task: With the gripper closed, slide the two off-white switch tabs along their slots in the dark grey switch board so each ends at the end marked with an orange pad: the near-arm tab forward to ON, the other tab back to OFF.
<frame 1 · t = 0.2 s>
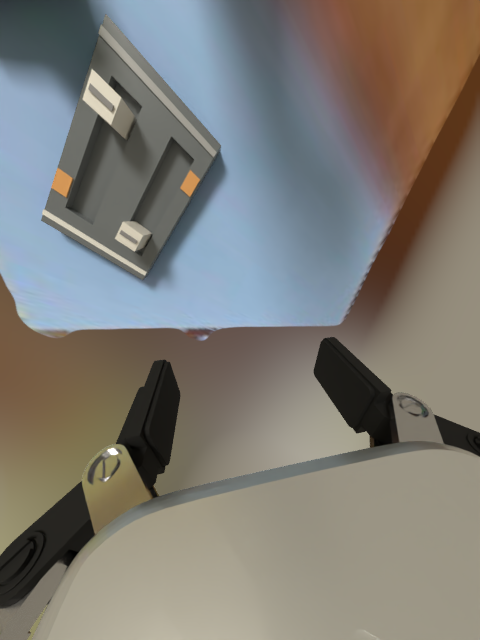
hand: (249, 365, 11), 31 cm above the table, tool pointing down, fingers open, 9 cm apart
tab B: (134, 235, 29), point 4 cm above the table, slide at 12.0 cm
tab A: (112, 110, 22), point 4 cm above the table, slide at 0.0 cm
switch board: (135, 186, 29), on the table
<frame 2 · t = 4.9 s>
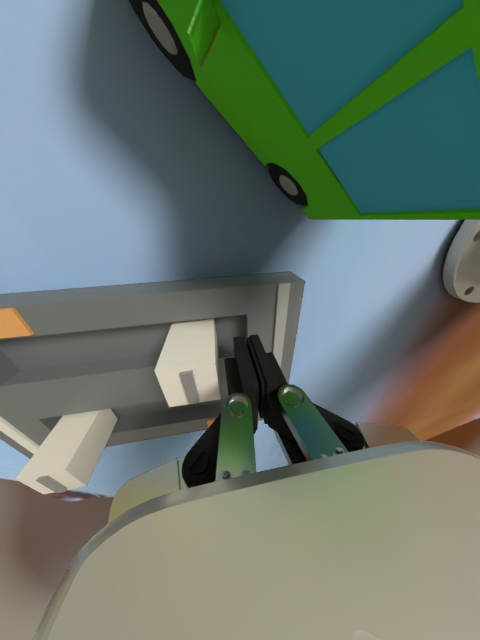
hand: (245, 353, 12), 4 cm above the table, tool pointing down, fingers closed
tab B: (76, 443, 14), point 4 cm above the table, slide at 12.0 cm
tab A: (194, 355, 12), point 4 cm above the table, slide at 0.9 cm, touching gripper
switch board: (151, 365, 16), on the table
toy car: (274, 42, 8), on the table
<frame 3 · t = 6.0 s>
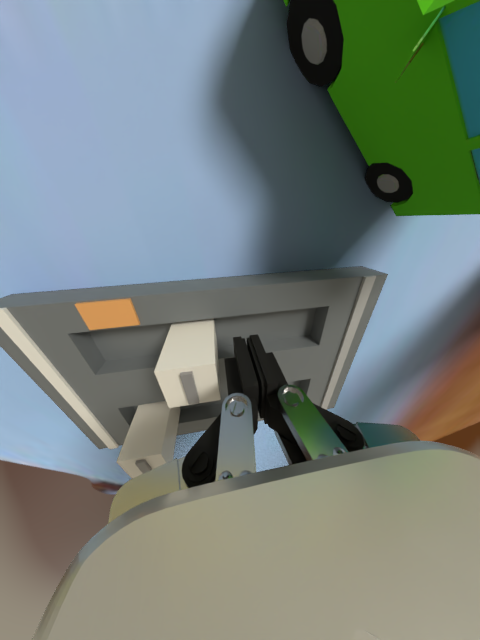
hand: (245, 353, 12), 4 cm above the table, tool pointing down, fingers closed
tab B: (154, 431, 15), point 4 cm above the table, slide at 12.0 cm
tab A: (194, 356, 12), point 4 cm above the table, slide at 7.2 cm, touching gripper
switch board: (216, 357, 17), on the table
toy car: (390, 52, 9), on the table
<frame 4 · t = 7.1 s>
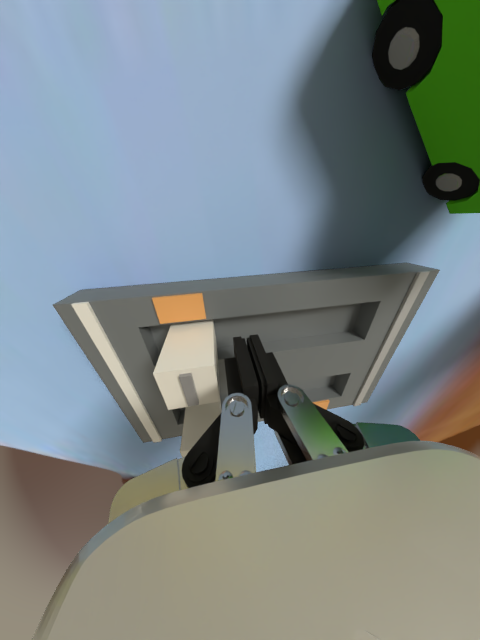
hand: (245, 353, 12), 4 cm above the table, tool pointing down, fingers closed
tab B: (204, 424, 15), point 4 cm above the table, slide at 12.0 cm
tab A: (193, 357, 11), point 4 cm above the table, slide at 11.6 cm, touching gripper
switch board: (259, 352, 18), on the table
toy car: (460, 57, 9), on the table
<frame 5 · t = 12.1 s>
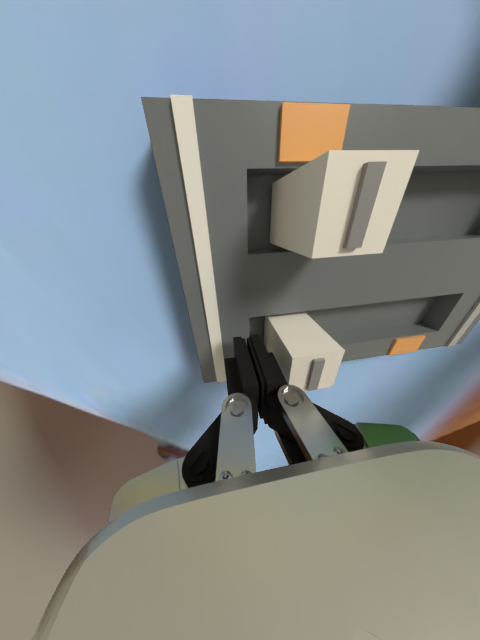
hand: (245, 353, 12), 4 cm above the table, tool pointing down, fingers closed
tab B: (295, 346, 12), point 4 cm above the table, slide at 12.0 cm, touching gripper
tab A: (319, 212, 8), point 4 cm above the table, slide at 11.9 cm
switch board: (349, 268, 14), on the table
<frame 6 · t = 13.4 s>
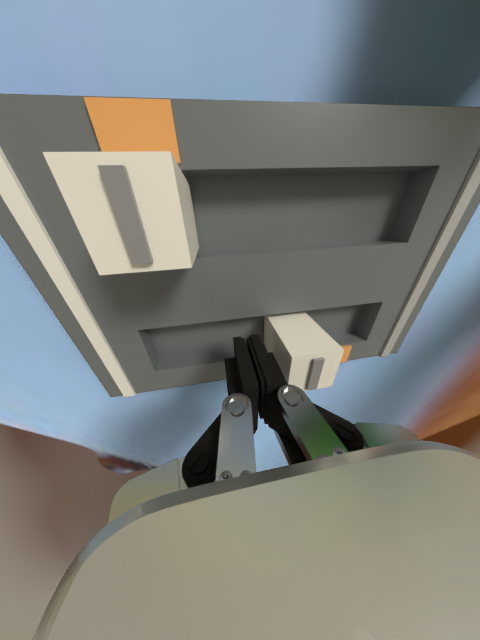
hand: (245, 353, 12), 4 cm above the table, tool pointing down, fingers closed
tab B: (295, 346, 12), point 4 cm above the table, slide at 4.6 cm, touching gripper
tab A: (153, 220, 7), point 4 cm above the table, slide at 11.9 cm
switch board: (261, 276, 13), on the table
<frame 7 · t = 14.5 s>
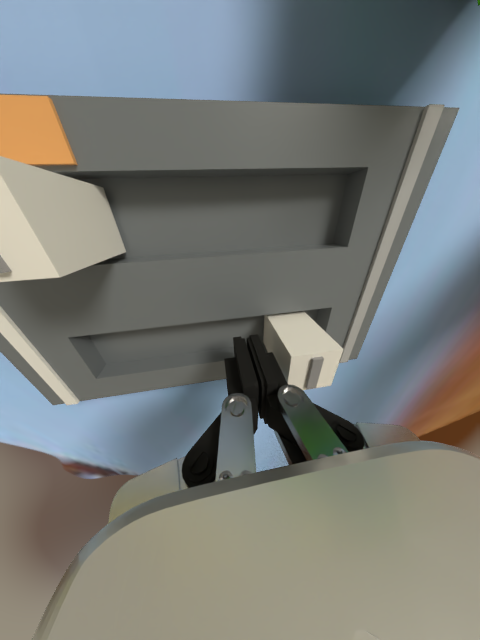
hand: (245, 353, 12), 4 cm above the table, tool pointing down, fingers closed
tab B: (294, 345, 12), point 4 cm above the table, slide at 0.4 cm, touching gripper
tab A: (43, 225, 7), point 4 cm above the table, slide at 11.9 cm
switch board: (207, 280, 13), on the table
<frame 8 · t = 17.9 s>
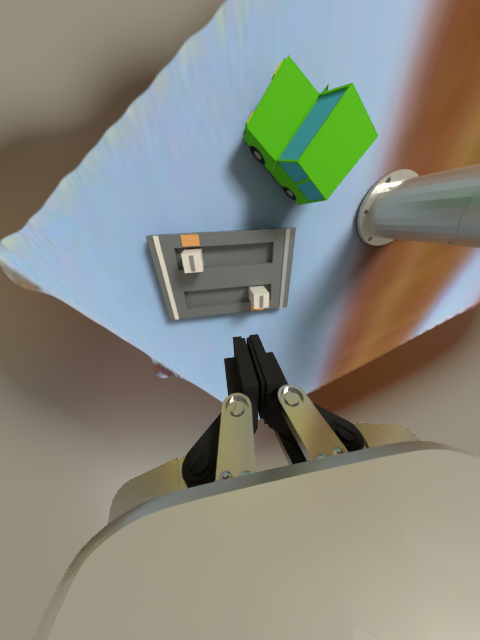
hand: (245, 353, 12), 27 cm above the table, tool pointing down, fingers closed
tab B: (258, 296, 35), point 4 cm above the table, slide at 0.2 cm
tab A: (193, 260, 30), point 4 cm above the table, slide at 11.9 cm
switch board: (226, 274, 36), on the table
toy car: (285, 151, 28), on the table
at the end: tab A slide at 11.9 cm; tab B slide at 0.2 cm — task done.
